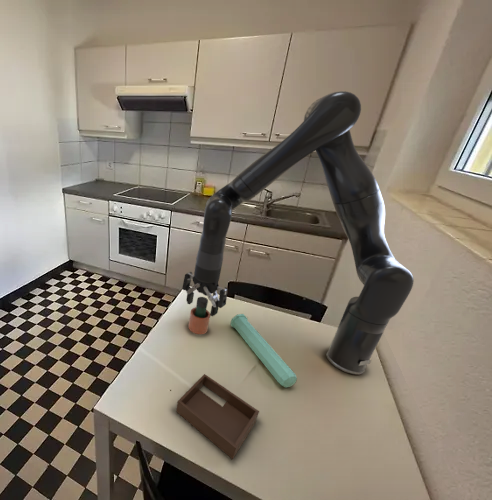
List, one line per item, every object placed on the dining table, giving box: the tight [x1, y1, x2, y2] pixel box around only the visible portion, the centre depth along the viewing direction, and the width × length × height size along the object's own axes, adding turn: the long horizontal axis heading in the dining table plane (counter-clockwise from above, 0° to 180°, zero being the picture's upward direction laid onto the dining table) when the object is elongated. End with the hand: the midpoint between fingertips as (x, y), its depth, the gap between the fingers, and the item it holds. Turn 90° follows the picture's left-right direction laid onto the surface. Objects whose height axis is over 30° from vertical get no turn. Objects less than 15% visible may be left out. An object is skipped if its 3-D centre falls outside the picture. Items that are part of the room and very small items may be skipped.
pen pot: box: [187, 307, 211, 335], centre depth 90 cm, size 6×6×6 cm
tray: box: [175, 373, 260, 460], centre depth 63 cm, size 11×14×4 cm
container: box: [230, 313, 298, 388], centre depth 82 cm, size 6×6×25 cm
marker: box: [195, 296, 209, 318], centre depth 89 cm, size 3×3×11 cm
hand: (200, 308), depth 88 cm, fingers open, 8 cm apart
